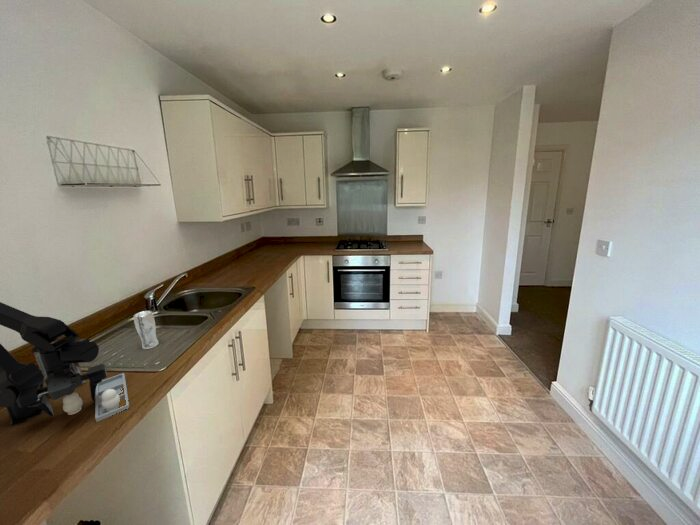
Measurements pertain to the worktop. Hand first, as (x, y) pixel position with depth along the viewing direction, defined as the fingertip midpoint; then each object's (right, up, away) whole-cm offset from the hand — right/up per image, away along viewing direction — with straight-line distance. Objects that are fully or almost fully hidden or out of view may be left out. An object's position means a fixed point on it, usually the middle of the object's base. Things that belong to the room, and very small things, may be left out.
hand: (73, 407), depth 88 cm
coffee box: (-14, +1, +13) cm, 19 cm away
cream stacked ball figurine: (0, -1, 0) cm, 1 cm away
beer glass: (-2, +8, +38) cm, 39 cm away
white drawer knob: (+12, 0, 0) cm, 12 cm away
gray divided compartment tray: (+7, +1, +6) cm, 9 cm away
